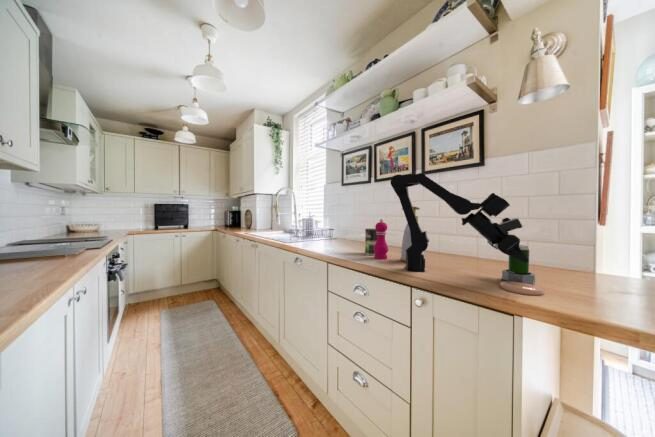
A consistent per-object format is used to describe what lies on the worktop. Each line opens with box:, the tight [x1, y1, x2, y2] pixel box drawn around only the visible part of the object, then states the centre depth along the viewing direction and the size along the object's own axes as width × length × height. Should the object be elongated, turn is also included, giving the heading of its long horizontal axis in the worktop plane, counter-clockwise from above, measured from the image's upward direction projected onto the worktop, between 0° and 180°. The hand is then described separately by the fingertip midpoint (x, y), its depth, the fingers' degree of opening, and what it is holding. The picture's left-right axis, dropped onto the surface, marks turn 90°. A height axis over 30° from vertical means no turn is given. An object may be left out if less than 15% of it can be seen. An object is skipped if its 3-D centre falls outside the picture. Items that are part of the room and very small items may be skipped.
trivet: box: [500, 280, 545, 296], centre depth 69 cm, size 10×10×1 cm
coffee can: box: [364, 228, 377, 257], centre depth 130 cm, size 10×10×14 cm
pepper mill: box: [374, 218, 389, 260], centre depth 118 cm, size 7×7×20 cm
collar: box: [501, 268, 536, 285], centre depth 79 cm, size 8×8×3 cm
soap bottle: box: [400, 206, 425, 263], centre depth 111 cm, size 11×12×26 cm
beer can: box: [507, 244, 530, 275], centre depth 79 cm, size 5×5×12 cm
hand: (522, 259), depth 78 cm, fingers open, 9 cm apart
